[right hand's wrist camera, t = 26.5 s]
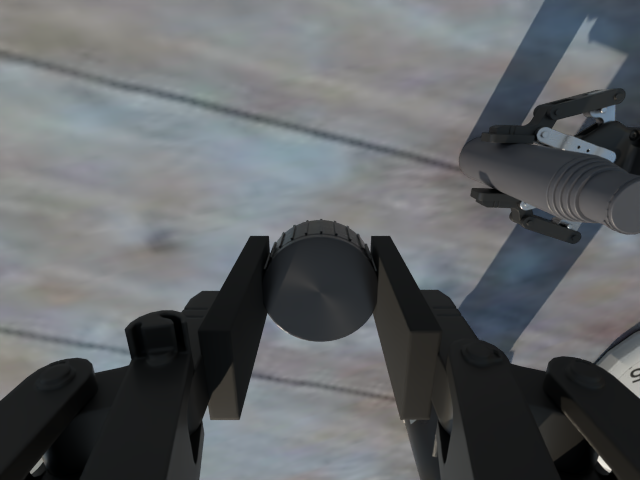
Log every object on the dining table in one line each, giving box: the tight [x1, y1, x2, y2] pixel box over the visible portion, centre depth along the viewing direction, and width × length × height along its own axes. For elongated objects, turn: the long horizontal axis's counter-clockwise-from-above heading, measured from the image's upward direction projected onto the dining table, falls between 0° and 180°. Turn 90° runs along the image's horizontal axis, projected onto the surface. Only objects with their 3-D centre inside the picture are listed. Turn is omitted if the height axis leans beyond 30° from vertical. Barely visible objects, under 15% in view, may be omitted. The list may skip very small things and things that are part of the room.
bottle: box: [459, 137, 640, 234], centre depth 28 cm, size 4×4×20 cm
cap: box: [262, 219, 378, 342], centre depth 14 cm, size 4×4×2 cm
